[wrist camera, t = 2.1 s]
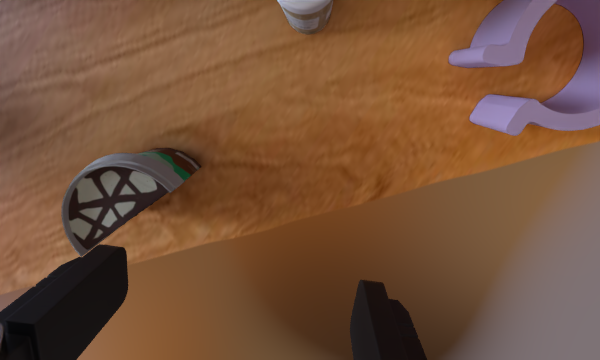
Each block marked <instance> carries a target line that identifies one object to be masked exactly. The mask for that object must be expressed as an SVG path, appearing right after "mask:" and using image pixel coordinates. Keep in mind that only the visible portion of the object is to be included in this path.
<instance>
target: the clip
mask: <svg viewBox="0 0 600 360" xmlns="http://www.w3.org/2000/svg"><path fill="white" fill-rule="evenodd" d="M554 3H555V4H558V5H561V6H563V7H565V8H566V9H568V10H569V11H570V12H571V13H572V14H573V15H574V16H575V17H576V18H577V20H578V22H579V23H580V26H581V28H582V32H583V37H584V50H583V55H582V59H581V62H580V65H579V67H578V69H577V71H576V73H575V75H574V76H573V78H572V79H571V81H570V82H569V83H568V84H567V85H566V86H565V87H564V88H563V89H562V90H561V91H560V92H559V93H558V94H556V95H555V96H553V97H552V98H550V99H548V100H546V101H544V102H542V103H539V102H538V101H537V100H536V99H529V98H520V97H511V96H502V95H492V94H489V95H486V96H485V97H484V98H483V99H482V100H481V101H479V103H478V104H477V106H476V107H475V109H474V110H473V112H472V114H471V115H470V121H471V122H472V123H474V124H477V125H481V126H484V127H487V128H491V129H494V130H497V131H501V132H504V133H507V134H510V135H518V134H520V133H521V132H522V130H523V129H524V127H525V126H526V125H527V124H533V125H537V126H542V127H546V128H550V129H555V130H563V131H573V130H582V129H587V128H591V127H594V126H598V125H600V0H503V1H502V2H501V3H499V4H498V5H497V6H496V7H495V8H494V9H493V10H492V11H491V12H490V13H489V14H488V15H487V16H486V18H485V19H484V20H483V22H482V23H481V24H480V26H479V28H478V29H477V31H476V33H475V35H474V37H473V40H472V43H471V46H470V48H468V49H462V50H456V51H453V52H452V53H451V54H450V56H449V63H450V64H451V65H454V66H459V67H465V68H476V67H497V66H510V65H516V64H519V63H521V62H522V61H523V59H524V54H525V49H526V46H527V42H528V40H529V37H530V35H531V33H532V31H533V29H534V27H535V25H536V24H537V22H538V21H539V19H540V18H541V17H542V15H543V14H544V13H545V12H546V11H547V10H548V9H549V8H550V7H551V6H552V5H553V4H554Z"/></svg>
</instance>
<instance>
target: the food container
mask: <svg viewBox="0 0 600 360" xmlns="http://www.w3.org/2000/svg"><path fill="white" fill-rule="evenodd" d="M200 168H201V166H200V165H199V164H198V163H197V162H196V161H195V160H194V159H193V158H191V157H190V156H188V155H187V154H185V153H184V152H181V151H178V150H174V149H171V148H156V149H153V150H149V151H146V152H142V153H139V154H132V153H116V154H111V155H107V156H104V157H102V158H99V159H97V160H95V161H94V162H92V163H91V164H89V165H88V166H87V167H86V168H85V169H83V170H82V171H81V172H80V173H79V174H78V175H77V176H76V177H75V178H74V179H73V181H72V182H71V184H70V185H69V188H68V189H67V191H66V193H65V196H64V198H63V203H62V222H63V227H64V230H65V233H66V235H67V237H68V239H69V241H70V243H71V245H72V246H73V247H74V249H75V250H76V252H77V253H78V254H79V255H80V256H81V257H82V256H83V255H84V254H86V253H87V252H88V251H89V250H91V249H92V248H93V247H95V246H96V245H97V244H99V243H100V242H101V241H102V240H104V239H105V238H106V237H108V236H109V235H110V234H111V233H113V232H114V231H115V230H117V229H118V228H119V227H120V226H122V225H124V224H125V223H126V222H127V221H129V220H130V219H131V218H133V217H134V216H137V214H138V213H140V212H141V211H143V210H144V209H145V208H147V207H148V206H150V205H152V204H153V203H154V202H155V201H157V200H158V199H159V198H161V197H162V196H164V195H165V194H166V193H168V192H170V193H171V192H172V191H173V190H175V189H176V188H177V187H179V186H180V185H181V184H182V183H184V182H185V180H186V179H188V178H189V177H190V176H191V175H192V174H194V173H195V172H196V171H197V170H198V169H200Z"/></svg>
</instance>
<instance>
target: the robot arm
mask: <svg viewBox="0 0 600 360" xmlns="http://www.w3.org/2000/svg"><path fill="white" fill-rule="evenodd" d="M127 290H128V275H127V254H126V250H125V248H123V247H117V246H110V245H102V244H100V245H97V246H96V247H95V248H93V249H92V250H91V251H90V252H88V253H87V254H86V255H85V256H83V257H78V258H76V259H74V260H71V261H69V262H67V263H65V264H63V265H61V266H59V267H58V268H57V269H56V270H54V271H53V272H52V273H50V274H49V275H48V277H47V278H44V279H43V280H41V281H40V282H39V283H37V284H36V286H35V287H32V288H31V289H29V290H28V291H27V292H26V293H24V294H23V295H22V296H20V297H19V298H18V299H16V300H15V301H14V302H13V303H11V304H10V305H9V306H7V307H6V308H5V309H3V310H2V311H1V312H0V360H77V358H78V357H79V356H80V355H81V353H82V352H83V351H84V350H85V349H86V347H87V346H88V345H89V344H90V343H91V341H92V340H93V339H94V338H95V336H96V335H97V334H98V333H99V332H100V330H101V329H102V328H103V327H104V326H105V324H106V323H107V322H108V321H109V320H110V318H111V317H112V316H113V314H114V313H115V312H116V311H117V310H118V309H119V307H120V306H121V305H122V303H123V302H124V300H125V297H126V294H127ZM413 326H414V325H413V323H412V320H411V317H410V315H409V312H408V311H407V310H406V309H405V308H404V307H403V305H402V304H401V303H400V302H399V301H398V300H393V299H388V296H387V292H386V290H385V286H384V284H383V283H382V282H375V281H367V280H360V281H359V284H358V288H357V293H356V298H355V302H354V307H353V311H352V316H351V324H350V335H351V343H352V351H353V358H354V360H427V358H426V356H425V353H424V350H423V348H422V345H421V343H420V340H419V339H418V335H417V333H416V330H415V328H414V327H413Z"/></svg>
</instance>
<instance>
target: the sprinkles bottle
mask: <svg viewBox="0 0 600 360" xmlns="http://www.w3.org/2000/svg"><path fill="white" fill-rule="evenodd" d="M277 1H278V2H279V3H280V5H281V7H282V9H283V11H284V13H285V15H286V18H287V20H288V22H289V24H290V25H291V27H293V28H294V29H295V30H296V31H298V32H299V33H302V34H313V33H316V32H318V31H320V30H322V29H323V28H324V27H325V25H326V24H327V23H328V20H329V18H330V15H331V9H332V4H333V0H277Z"/></svg>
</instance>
